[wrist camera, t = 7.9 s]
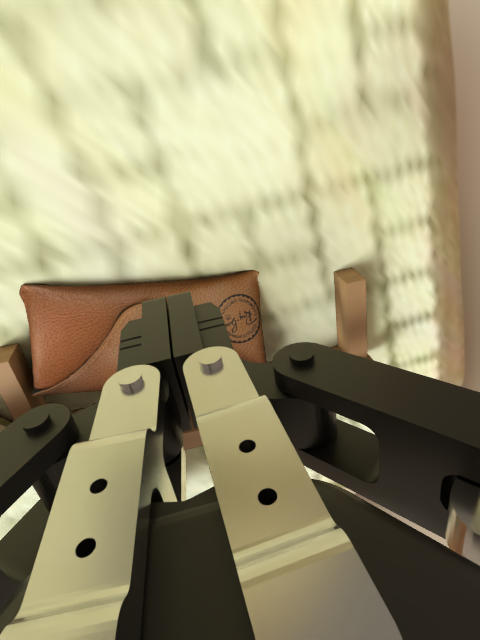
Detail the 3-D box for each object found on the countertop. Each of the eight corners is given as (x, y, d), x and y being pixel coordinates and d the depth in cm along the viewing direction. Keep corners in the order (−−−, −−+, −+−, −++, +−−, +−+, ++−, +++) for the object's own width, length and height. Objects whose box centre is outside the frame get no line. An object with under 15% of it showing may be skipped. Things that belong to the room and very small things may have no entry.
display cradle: (-7, 348, 31) (-39, 399, 25) (354, 267, 33) (393, 297, 28) (37, 434, 35) (18, 493, 30) (357, 355, 37) (391, 396, 32)
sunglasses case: (264, 263, 32) (284, 339, 28) (254, 314, 38) (269, 382, 34) (9, 282, 29) (-4, 370, 25) (41, 335, 35) (34, 411, 31)
